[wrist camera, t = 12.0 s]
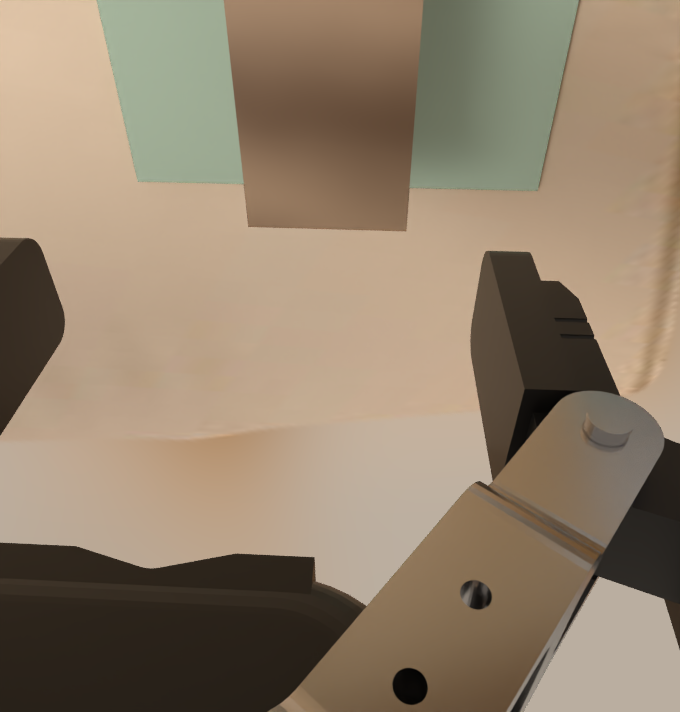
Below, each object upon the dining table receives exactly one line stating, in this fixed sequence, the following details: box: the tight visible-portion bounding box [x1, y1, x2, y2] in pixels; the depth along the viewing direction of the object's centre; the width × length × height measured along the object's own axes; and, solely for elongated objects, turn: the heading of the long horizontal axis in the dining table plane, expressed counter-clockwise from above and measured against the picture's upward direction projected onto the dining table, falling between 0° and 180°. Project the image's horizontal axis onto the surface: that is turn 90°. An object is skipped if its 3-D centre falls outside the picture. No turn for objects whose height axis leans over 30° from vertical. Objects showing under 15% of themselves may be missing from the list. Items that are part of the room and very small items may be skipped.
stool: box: [224, 0, 423, 231], centre depth 23 cm, size 10×6×8 cm, turn 0°
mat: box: [97, 0, 579, 191], centre depth 26 cm, size 20×14×1 cm
